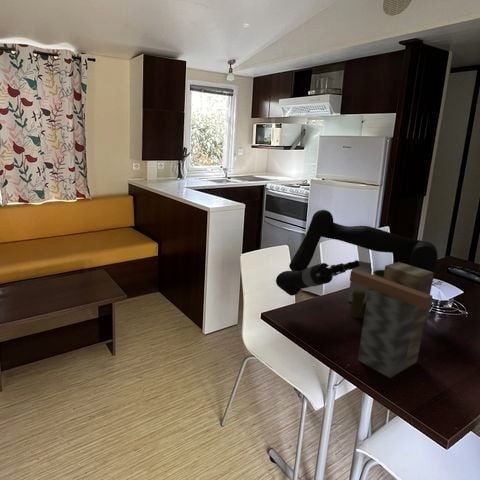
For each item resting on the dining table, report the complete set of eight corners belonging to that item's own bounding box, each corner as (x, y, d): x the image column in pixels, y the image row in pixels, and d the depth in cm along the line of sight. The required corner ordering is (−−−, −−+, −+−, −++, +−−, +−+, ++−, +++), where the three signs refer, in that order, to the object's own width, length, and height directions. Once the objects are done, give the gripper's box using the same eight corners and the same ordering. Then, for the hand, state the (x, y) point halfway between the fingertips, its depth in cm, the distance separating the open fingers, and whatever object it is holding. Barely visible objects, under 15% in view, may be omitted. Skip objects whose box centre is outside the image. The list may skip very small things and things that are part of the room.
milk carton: (363, 305, 171) (369, 265, 166) (347, 301, 174) (352, 262, 169) (367, 300, 176) (373, 261, 171) (352, 296, 180) (357, 258, 175)
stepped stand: (357, 360, 128) (370, 270, 119) (384, 346, 137) (398, 261, 129) (390, 378, 119) (406, 282, 110) (416, 362, 128) (433, 272, 120)
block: (349, 280, 129) (350, 271, 128) (355, 278, 131) (357, 269, 130) (424, 309, 109) (426, 298, 108) (430, 306, 111) (432, 295, 111)
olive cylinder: (364, 319, 158) (367, 294, 155) (349, 317, 159) (352, 292, 156) (362, 312, 163) (366, 288, 160) (348, 311, 164) (351, 287, 162)
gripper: (300, 268, 139) (334, 258, 126) (326, 262, 148) (359, 252, 135) (306, 288, 138) (340, 280, 125) (332, 281, 147) (366, 272, 134)
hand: (350, 265), depth 130 cm, fingers open, 8 cm apart
